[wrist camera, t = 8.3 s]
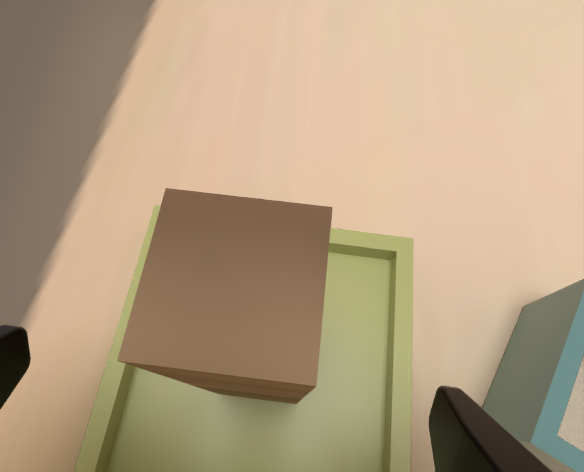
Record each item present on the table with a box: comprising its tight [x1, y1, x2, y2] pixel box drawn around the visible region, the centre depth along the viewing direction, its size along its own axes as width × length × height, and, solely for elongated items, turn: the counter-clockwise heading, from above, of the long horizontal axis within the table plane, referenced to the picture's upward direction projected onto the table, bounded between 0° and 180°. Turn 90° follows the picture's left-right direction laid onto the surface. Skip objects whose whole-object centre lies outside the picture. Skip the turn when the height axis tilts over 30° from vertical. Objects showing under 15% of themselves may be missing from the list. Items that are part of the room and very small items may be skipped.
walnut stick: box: [117, 188, 332, 404], centre depth 13 cm, size 4×4×12 cm
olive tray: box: [73, 206, 413, 472], centre depth 18 cm, size 13×13×2 cm
